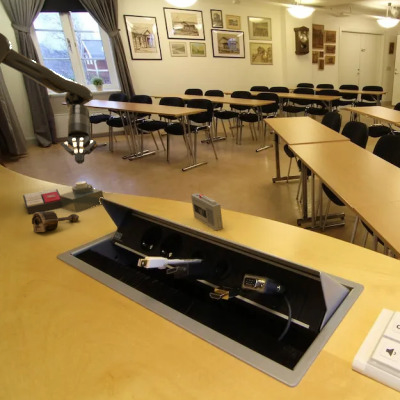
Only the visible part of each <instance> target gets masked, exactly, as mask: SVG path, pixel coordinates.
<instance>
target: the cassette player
mask: <svg viewBox="0 0 400 400" xmlns="http://www.w3.org/2000/svg"><path fill="white" fill-rule="evenodd" d="M190 197H191V204H192V211H193V217H194V218H195V219H196V220H198V221H199V222H201V223H203V224H204V225H206V226H207V227H209V228H210V229H213V230H214V231H215V232H216V231H219V230H222V229H224V226H223V216H222V215H223V214H222V207H221V204H220V203H218V202H217V201H216V200H214V199H213V198H211V197H209V196H206V195H205V194H203V193H199V192H196V193H192V194H190Z"/></svg>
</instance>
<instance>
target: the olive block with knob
mask: <svg viewBox="0 0 400 400" xmlns="http://www.w3.org/2000/svg"><path fill="white" fill-rule="evenodd" d="M87 186H88V187H85V188H77V187H76V185H74V186H73V187H71V191H70V192H66V193H63V194H60V195H59V197H60V201H61V204H62V207H63V208H62V209H64V210H67V211H70V212H73V213H75V214H76V213H79V212H82V211H85V210H89V209H92V208H94V207H93V206H95V207H97V206H96V205H98V206H100V205H102V204H100V202H99V198H100V197H103V198H104V199H105V197H104V193H103V190H102V189H97V188H94V187H93V184H90V183H87ZM91 207H92V208H91ZM88 208H89V209H88Z"/></svg>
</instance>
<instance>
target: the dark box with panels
mask: <svg viewBox="0 0 400 400" xmlns="http://www.w3.org/2000/svg"><path fill="white" fill-rule="evenodd" d="M59 195H61V194H60V192H59V190H58V189H57V188H53V189H47V190H46V189H45V190H41V191H36V192H30V193H24V194H23V195H22V198H23V201H24V205H25V209H26V211H27V214H28V215H34V213H36V212H47V211H53V210H58V209H63V207H62V204H61V201H60V197H59Z"/></svg>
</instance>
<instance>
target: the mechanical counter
mask: <svg viewBox="0 0 400 400" xmlns="http://www.w3.org/2000/svg"><path fill="white" fill-rule="evenodd" d="M79 218H80V216H79V215H78V214H76V213H71V214H69V215H68V216H65V217H64V216H62V217H59V216H58V214H57V212H55V211H53V210H48V211H44V212H36V213H34V214H32V218H31V224H32V228H33V232H34V233H44V232H46V231H53V230H56V229H57V228H58V226H59V222H64V221H65V222H67V221H70V222H72V223H75V222H77V221H78V220H79Z"/></svg>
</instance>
